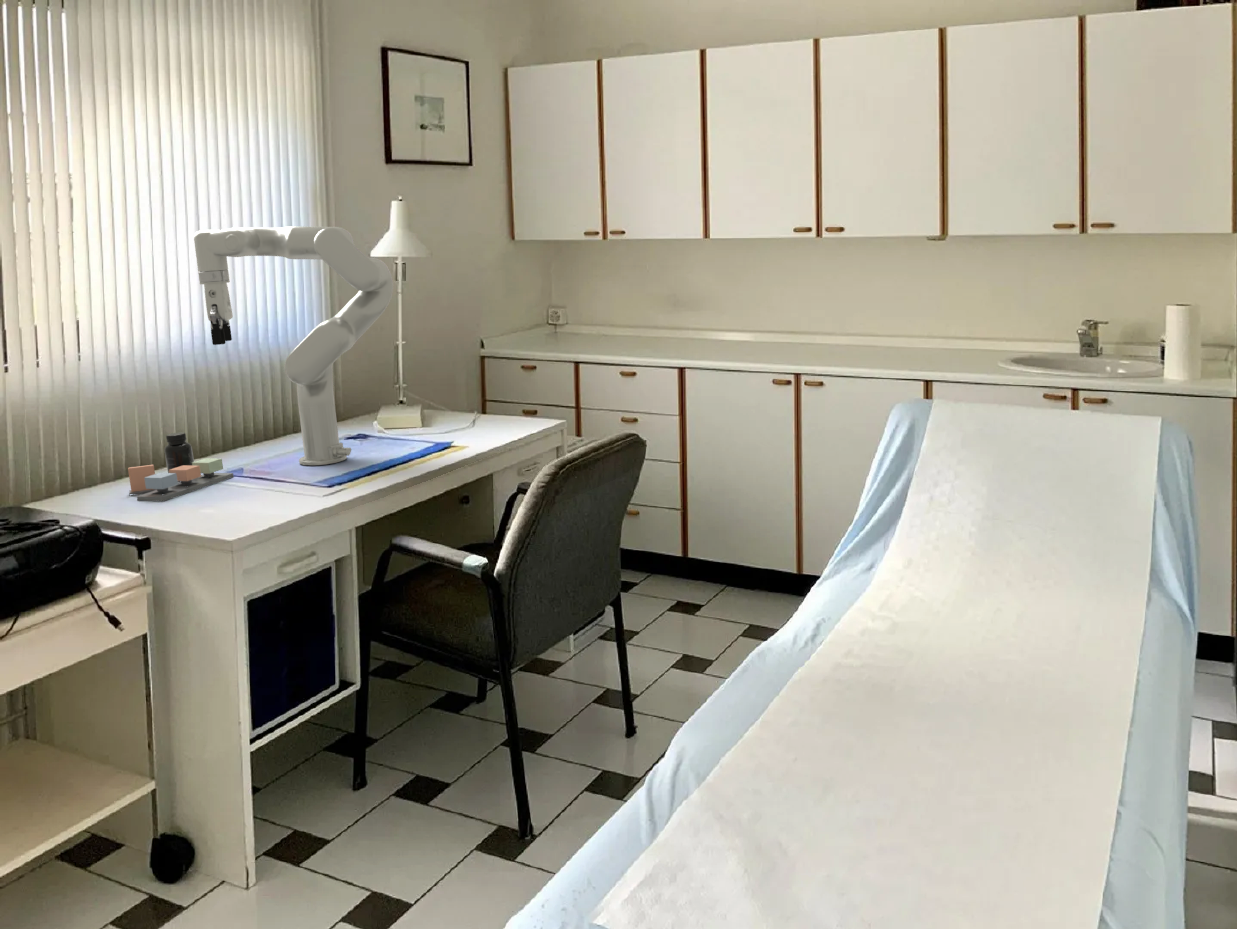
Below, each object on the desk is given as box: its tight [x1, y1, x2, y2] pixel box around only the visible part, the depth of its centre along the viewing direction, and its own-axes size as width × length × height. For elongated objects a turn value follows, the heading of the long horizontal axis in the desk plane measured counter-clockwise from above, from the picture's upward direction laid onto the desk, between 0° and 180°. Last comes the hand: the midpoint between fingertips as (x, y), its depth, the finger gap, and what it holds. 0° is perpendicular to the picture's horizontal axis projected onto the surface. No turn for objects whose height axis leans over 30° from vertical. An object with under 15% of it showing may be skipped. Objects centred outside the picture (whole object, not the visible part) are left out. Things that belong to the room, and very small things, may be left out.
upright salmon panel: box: [127, 464, 157, 495], centre depth 293 cm, size 4×7×7 cm, turn 112°
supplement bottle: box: [163, 431, 195, 473], centre depth 306 cm, size 7×7×12 cm
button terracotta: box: [169, 465, 202, 484], centre depth 294 cm, size 5×5×4 cm
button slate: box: [145, 472, 179, 492], centre depth 287 cm, size 5×5×4 cm
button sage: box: [192, 457, 224, 476], centre depth 302 cm, size 5×5×4 cm
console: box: [136, 472, 235, 502], centre depth 295 cm, size 8×26×1 cm, turn 159°
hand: (222, 342), depth 312 cm, fingers open, 9 cm apart
